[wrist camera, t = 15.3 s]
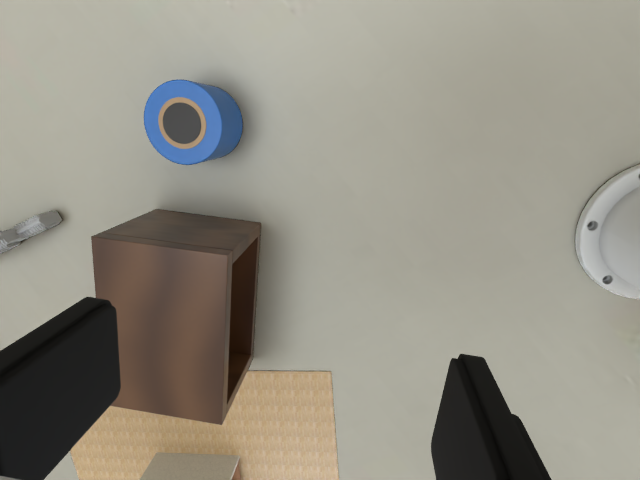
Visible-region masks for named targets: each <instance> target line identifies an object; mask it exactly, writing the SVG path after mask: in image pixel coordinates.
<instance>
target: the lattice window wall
mask: <svg viewBox="0 0 640 480" xmlns="http://www.w3.org/2000/svg"><path fill="white" fill-rule="evenodd" d="M61 221H63V220H62V219H61V217H60V215H59V214H58V212H57V211H55V212H53V211H49V212H46V213H43V214H39V215H35V216H33V218H30V219H28V220H25V222H22V223H19V225H18V224H17V226H14V228H12V229H9V230H6V231H0V253H3V252H5V251H7V250H10V249H12V248H14V247H16V246H18V245H20V244H21V243H20V241H22V240H24V239H27V238H30V236H31V237H32V236H33V235H36V234H39V233H41V232H43V231H45V230H47V229H49V228H51V227H54V226H56V225H58V224H60V223H59V222H61Z"/></svg>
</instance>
